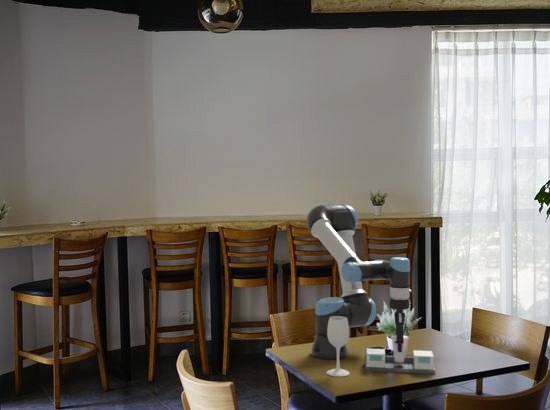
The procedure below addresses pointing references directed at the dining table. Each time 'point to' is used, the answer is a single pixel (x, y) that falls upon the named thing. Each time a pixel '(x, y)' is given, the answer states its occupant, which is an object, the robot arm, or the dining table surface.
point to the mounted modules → (419, 359)
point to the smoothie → (394, 338)
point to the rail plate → (399, 366)
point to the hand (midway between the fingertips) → (399, 357)
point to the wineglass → (338, 340)
